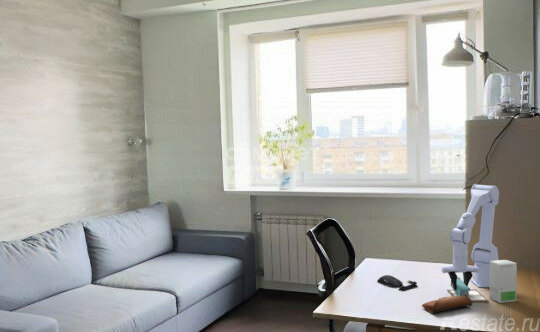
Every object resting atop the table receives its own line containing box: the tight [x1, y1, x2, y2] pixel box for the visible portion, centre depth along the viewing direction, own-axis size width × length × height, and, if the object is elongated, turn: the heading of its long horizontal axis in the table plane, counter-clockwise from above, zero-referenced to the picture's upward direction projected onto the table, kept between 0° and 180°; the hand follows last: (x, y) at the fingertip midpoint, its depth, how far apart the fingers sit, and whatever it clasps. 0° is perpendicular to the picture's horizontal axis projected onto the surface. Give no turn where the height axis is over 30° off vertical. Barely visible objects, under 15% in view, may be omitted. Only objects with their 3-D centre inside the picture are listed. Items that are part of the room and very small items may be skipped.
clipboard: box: [447, 286, 490, 303], centre depth 213 cm, size 14×12×2 cm
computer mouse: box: [376, 274, 418, 292], centre depth 232 cm, size 12×18×4 cm
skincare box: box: [488, 259, 518, 304], centre depth 208 cm, size 8×7×16 cm
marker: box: [450, 277, 469, 297], centre depth 213 cm, size 15×4×4 cm, turn 178°
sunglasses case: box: [421, 295, 473, 315], centre depth 200 cm, size 18×7×7 cm
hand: (460, 289), depth 214 cm, fingers closed on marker, 4 cm apart
